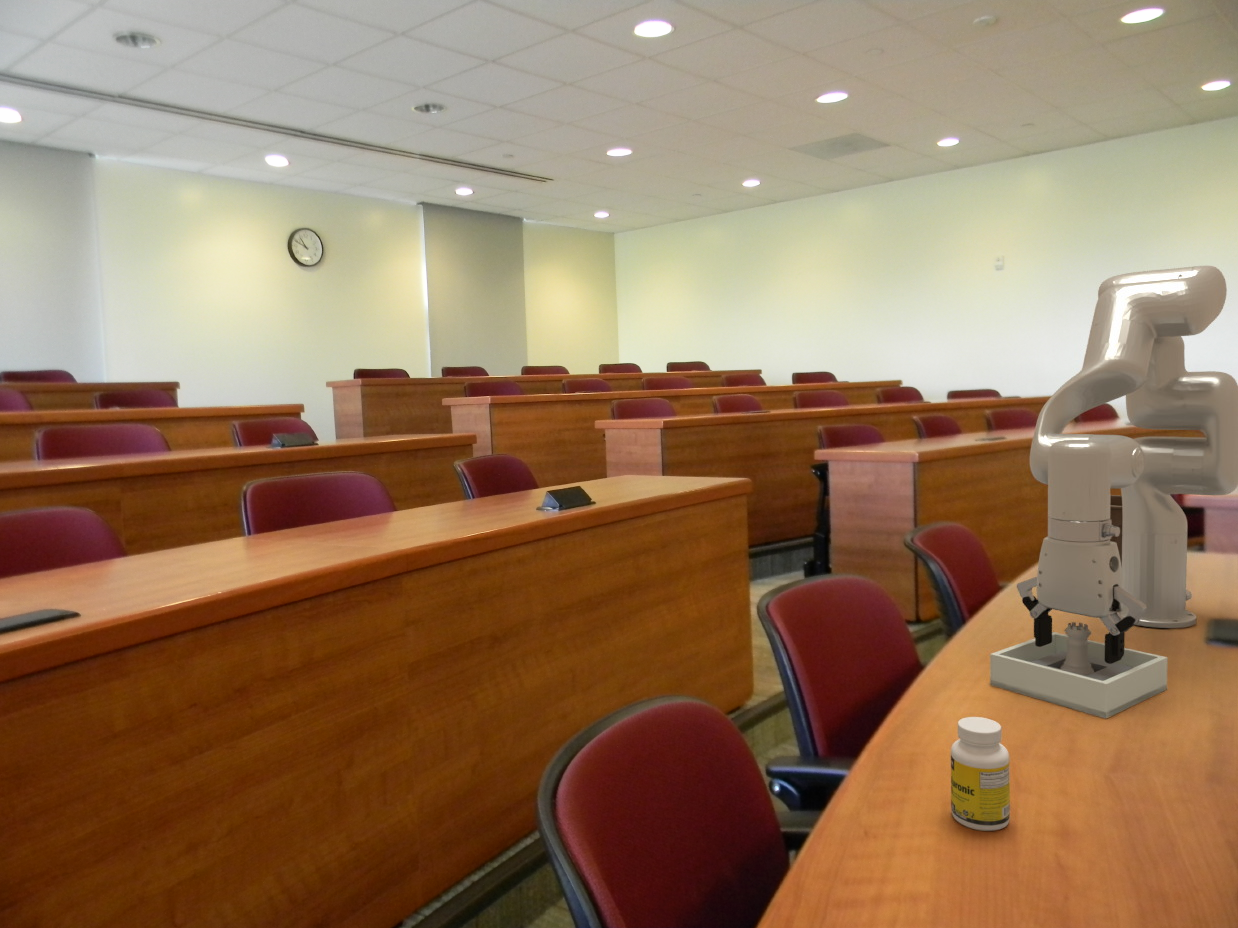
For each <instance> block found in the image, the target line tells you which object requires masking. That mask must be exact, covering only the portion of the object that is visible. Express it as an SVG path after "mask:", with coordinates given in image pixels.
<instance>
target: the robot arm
mask: <svg viewBox="0 0 1238 928" xmlns="http://www.w3.org/2000/svg"><path fill="white" fill-rule="evenodd" d="M1097 291H1098V292H1097V301H1096V305H1095V308H1094V312H1093V315H1092V317H1093V318H1092V322H1091V326H1090V330H1089V336H1088V340H1087V344H1086V350H1085V354H1084V358H1083V359H1084V360H1083V363H1082V368H1081V370H1080V371H1079V372H1078V373H1076V374H1075V375H1073V376H1072V377H1071V378H1070V379H1068V380H1067V381H1066V382H1064V383H1063V384H1062V385H1061V386H1060V387H1059V388H1058V389H1057V390H1056V391H1055V392H1054V393H1053V394H1052V395H1051V396H1050V397H1049V399H1048V400H1047V401H1046V402H1045V404H1044V405H1043V407H1042V408H1041V409H1040V412H1039V413H1038V417H1037V420H1036V423H1035V424H1036V425H1035V428H1034V432H1033V436H1032V440H1031V445H1030V451H1029V452H1030V453H1029V468H1030V472H1031V474H1032V476H1033V477H1034V479H1035V480H1037V482H1040V483H1041V484H1044V485H1048V486H1047V536H1046V537H1044V538H1043V540H1042V544H1041V547H1040V552H1039V559H1038V564H1037V565H1038V566H1037V574H1036V576H1035V577H1032V578H1030V579H1027V580H1026V579H1025V580H1024V581H1021V582H1018V583H1017V584H1016V589H1017V592H1018V594H1019V596H1020V597H1021V599H1022V600H1021V602H1022V604H1023V605H1024V606H1025V607H1026V609H1027V610H1028V612H1029V616H1030V617H1031V618H1032V619H1033V637H1034V639H1035V645H1036V646H1038V647H1042V646H1044V645H1047V644H1050V643H1052V632H1053V617H1052V615H1050V614H1049V613H1050V612H1052V611H1054V610H1055V611H1059V612H1064V613H1070V614H1075V615H1078V616H1085V617H1089V618H1096V619H1099V620H1100V621H1101V622H1102V624H1103V625H1104V626H1105V628H1106V629H1107V630H1108V632H1107V633H1106V634H1105V635H1104V643H1105V662H1106V663H1108V664H1112V663H1115V662H1117V661H1119V660H1121V658H1122V657H1123V655H1124V648H1125V636H1126V635H1125V634H1126V632H1128V631H1129V630H1130V629H1132V628H1133V627H1134V626H1139V627H1140V626H1141V627H1147V628H1159V629H1180V628H1181V629H1182V628H1188V627H1191V626H1194V625H1196V623H1197V615H1196V614H1195V613H1194V612H1192V611H1189V610H1188V609H1187V607H1186V606H1187V605H1186V603H1187V601H1189V600H1191V599H1192V596H1193V595H1192V592H1191V591H1190V590H1188V589H1187V562H1188V561H1187V559H1188V557H1187V556H1188V519H1187V516H1186V514H1185V512H1184V511H1183V509H1182V508H1181V506H1180V505H1179V504H1178V503H1177V502H1176V501H1175V499H1174V498H1173V497H1172V496H1171V495H1179V494H1180V495H1192V496H1193V495H1194V496H1198V495H1199V496H1225V495H1229V494H1231V493H1233V492H1234V491H1235V490H1236V489H1237V488H1238V383H1237V380H1236V379H1235V378H1234V376H1232V375H1231V374H1229V373H1227V372H1225V371H1223V372H1222V371H1216V370H1215V371H1214V370H1213V371H1211V370H1209V371H1208V370H1207V371H1187V370H1186V366H1185V364H1186V363H1185V360H1186V359H1185V349H1186V348H1185V341H1184V339H1183V337H1189V336H1196V335H1199V334H1201V333H1203V332H1204V331H1205V330H1206V329H1208V328H1209V326H1210V325H1211V324H1212V323H1213V322H1214V321H1216V319H1217V318H1218V316H1220V314H1221V313H1222V311H1223V309H1224V305H1225V303H1226V299H1227V291H1228V290H1227V281H1226V278H1225V276H1224V274H1223V273H1222V271H1221V270H1220V269H1219V268H1217V267H1216V266H1212V265H1198V266H1186V267H1177V268H1175V267H1174V268H1165V269H1154V270H1153V269H1152V270H1146V271H1145V270H1143V271H1136V272H1135V271H1134V272H1127V273H1126V272H1125V273H1122V274H1118V275H1117V274H1116V275H1114V276H1111V277H1109V278H1107V279H1105V280H1103V281H1102V282H1101V284H1100V285H1099V287H1098V290H1097ZM1122 397H1125V409H1126V415H1127V419H1128V422H1130V424H1131V425H1133V427H1135V428H1136V427H1137V428H1140V429H1145V430H1161V431H1162V430H1164V431H1165V430H1166V431H1167V430H1168V431H1170V430H1171V431H1178V430H1179V431H1183V430H1185V431H1200V432H1202V433H1203V434H1204V436H1205V437H1192V436H1191V437H1188V436H1186V437H1184V436H1182V437H1181V436H1141V437H1135V438H1131V437H1130V436H1129V437H1128V436H1125V435H1118V434H1093V433H1091V434H1090V433H1089V434H1088V433H1087V434H1086V433H1085V434H1084V433H1063V432H1064V430H1065V428H1066V427H1067V426H1068V424H1070V423H1071V421H1073V420H1074V419H1075V418H1077V417H1078V416H1080V415H1081V414H1083V413H1085V412H1087V411H1089V410H1091V409H1094V408H1096V407H1098V406H1102V405H1104V404H1106V403H1110V402H1112V401H1114V400H1117V399H1120V398H1122ZM1111 489H1119V490H1120V492H1121V495H1122V514H1123V521H1122V567H1121V561H1120V555H1119V551H1118V547H1117V543H1116V542H1111V541H1110V539H1111V537H1112V536H1116V537H1118V536H1119V534H1120V528H1119V527H1116V526H1113V525H1111V524H1112V520H1110V495H1111ZM1033 588H1036V596H1034V595H1033V590H1032V589H1033Z"/></svg>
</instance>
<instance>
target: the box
mask: <svg viewBox="0 0 1238 928" xmlns="http://www.w3.org/2000/svg"><path fill="white" fill-rule="evenodd" d="M1067 640H1068V635H1067V634H1066V633H1065V634H1063V633H1059V632H1055V631H1052V643H1050V644H1047V645H1044V646H1042V647H1038V646H1036V645H1035V638H1032V639H1029V640H1027V641H1024V642H1020V643H1018V644H1014V645H1013V646H1009V647H1006V648H1003V649H1001V650H1000V649H999V650H998V651H995V652H992V653H990V655H989V657H990V662H989V666H990V668H989V673H990V675H989V676H990V678H989V679H990V683H989V684H990V686H992V687H996V688H998V689H999V688H1000V689H1002V690H1006V691H1010V692H1013V693H1016V694H1019V695H1023V696H1027V697H1030V698H1033V699H1037V700H1040V701H1043V702H1047V703H1050V704H1053V705H1056V706H1057V705H1058V706H1061V707H1064V708H1067V709H1072V710H1075V711H1078V712H1082V713H1084V714H1088V715H1092V716H1094V717H1095V716H1096V717H1098V718H1102V719H1108V718H1110V717H1112V716H1114V715H1116V714H1119V713H1122V712H1123V711H1126V710H1127V709H1129V708H1132V707H1133V706H1135V705H1139V703H1142V702H1144V701H1146V700H1148V699H1150V698H1152V697H1154V696H1156V695H1158V694H1161V693H1162V692H1164V691H1167V690H1168V657H1167V656H1162V655H1159V654H1154V653H1150V652H1144V651H1141V650H1140V651H1139V650H1136V649H1132V648H1128V647H1127V648H1126V647H1124V655H1123V657H1122V658H1121V660H1119V661H1117V662H1115V663H1112V664H1108V663H1106V662H1105V642H1099V641H1096V640H1091V639H1087V641H1088V642H1089V645H1088V649H1087V651H1088V658H1089V663H1090V664H1091V667H1092V668H1093V669H1094V673H1092V674H1089V675H1087V676H1086V675H1082V674H1078V673H1074V672H1070V671H1066V670H1062V669H1060V668H1061V666H1062V665H1063V664H1064V661H1065V659H1066V656H1067V650H1068V643H1067V642H1066V641H1067Z"/></svg>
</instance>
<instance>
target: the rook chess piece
mask: <svg viewBox="0 0 1238 928" xmlns="http://www.w3.org/2000/svg"><path fill="white" fill-rule="evenodd" d="M1076 623H1077V622H1074V621H1073V622H1071V623H1070V622H1068V623H1067V627H1066V628H1065V629H1064V632H1065V635H1068V640H1067V641H1066V642H1067V643H1068V650H1067V656H1066V659H1065V661H1064V664H1063V665H1062V666H1061V668H1060V669H1062V670H1066V671H1070V672H1074V673H1078V674H1082V675H1086V676H1087V675H1089V674H1092V673H1094V669H1093V668H1092V667H1091V664H1090V663H1089V658H1088V651H1087V649H1088V645H1089V642H1088V641H1087V640H1088V638H1089V636H1090V635H1091V634H1092V631H1091V630H1090V629H1089V625H1088V624H1087V623H1085V624H1084V623H1083V622H1078V625H1076Z"/></svg>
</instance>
